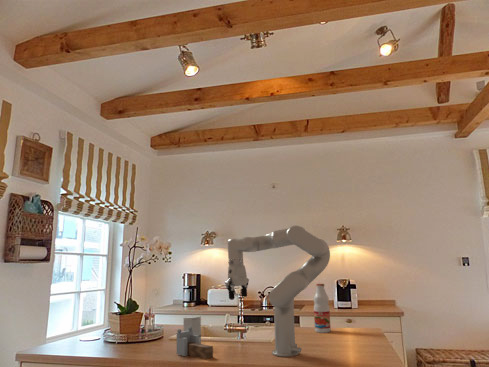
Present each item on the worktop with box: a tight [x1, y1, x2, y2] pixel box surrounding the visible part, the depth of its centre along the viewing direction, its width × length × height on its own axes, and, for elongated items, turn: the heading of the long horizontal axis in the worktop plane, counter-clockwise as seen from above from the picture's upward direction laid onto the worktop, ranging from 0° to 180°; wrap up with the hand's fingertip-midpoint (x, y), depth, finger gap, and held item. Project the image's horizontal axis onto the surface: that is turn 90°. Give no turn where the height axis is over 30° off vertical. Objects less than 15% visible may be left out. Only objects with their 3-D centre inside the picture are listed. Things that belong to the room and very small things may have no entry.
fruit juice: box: [313, 283, 331, 334], centre depth 247 cm, size 9×9×28 cm
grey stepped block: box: [176, 327, 199, 357], centre depth 199 cm, size 6×9×12 cm
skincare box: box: [183, 315, 202, 344], centre depth 216 cm, size 8×6×15 cm
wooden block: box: [187, 342, 214, 360], centre depth 194 cm, size 16×4×5 cm, turn 48°
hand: (238, 297), depth 204 cm, fingers open, 9 cm apart
